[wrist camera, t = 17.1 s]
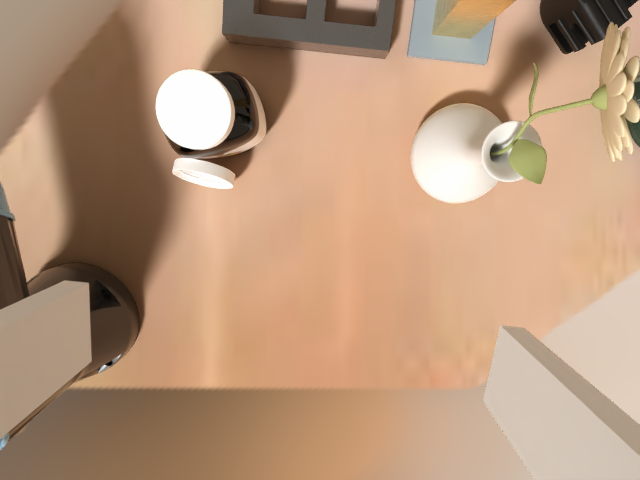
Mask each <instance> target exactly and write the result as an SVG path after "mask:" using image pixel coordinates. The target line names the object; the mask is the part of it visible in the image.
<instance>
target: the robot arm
mask: <svg viewBox="0 0 640 480" xmlns="http://www.w3.org/2000/svg"><path fill="white" fill-rule="evenodd" d="M13 221H15V216H14V215H13V214H12V213H10V209H9V206H8V202H7V199H6V195H5V192H4V189H3V186H2V184H1V182H0V450H1V449H2V448H3V447H4V446H5V445H6V444H7V442H8V441H9V440H10V439H11V438H13V437H14V436H15V435H16V434H17V433H18V432H19V431H20V430H21V429H23V428H24V427H25V426H26V425H27V424H28V423H29V422H30V421H31V420H33V419H34V418H35V417H36V416H37V415H38V414H39V413H40V412H41V411H43V410H44V409H45V408H46V407H47V406H48V405H49V404H50V403H51V402H52V401H54V400H55V399H56V398H57V397H58V396H59V395H60V394H61V393H63V392H64V391H65V390H66V389H67V388H68V387H69V386H70V385H72V384H73V383H75V382H77V381H80V380H82V379H85V378H87V377H90V376H92V375H95V374H97V373H100V372H102V371H105V370H107V369H108V368H110V367H112V366H113V365H114V364H116V363H117V362H118V361H119V360H120V359H121V358H122V357H123V356H124V355H125V354H126V353H127V352H128V351H129V350H130V349H131V347H132V346H133V344H134V342H135V340H136V338H137V334H138V330H139V316H138V310H137V307H136V304H135V302H134V299H133V298H132V296H131V294H130V293H129V291H128V290H127V288H126V287H125V286H124V285H123V284H122V283H121V282H120V281H119V280H118V279H117V278H116V277H114V276H113V275H112V274H110V273H108V272H107V271H105V270H103V269H101V268H98V267H96V266H93V265H89V264H83V263H67V264H62V265H59V266H56V267H53V268H51V269H48V270H46V271H43V272H41V273H39V274H37V275H36V276H34V277H33V278H32V279H30V280H29V281H28V282H26V277H25V272H24V268H23V263H22V259H21V254H20V250H19V245H18V240H17V236H16V231H15V227H14V222H13ZM483 402H484V403H485V405H486V407H487V408H488V409H489V411H490V413H491V414H492V415H493V417H494V419H495V420H496V422H497V423H498V425H499V426H500V428H501V429H502V431H503V432H504V434H505V435H506V437H507V439H508V440H509V442H510V443H511V445H512V446H513V448H514V449H515V451H516V452H517V454H518V455H519V457H520V458H521V460H522V461H523V463H524V464H525V466H526V468H527V469H528V471H529V472H530V474H531V475H532V477H533V478H534V480H640V425H639V424H638V423H637V422H636V421H635V420H633V419H632V418H631V417H630V416H629V415H627V414H626V413H625V412H624V411H623V410H621V409H620V408H619V407H618V406H617V405H615V404H614V403H613V402H612V401H611V400H610V399H608V398H607V397H606V396H605V395H604V394H602V393H601V392H600V391H599V390H597V389H596V388H595V387H594V386H593V385H592V384H590V383H589V382H588V381H587V380H586V379H584V378H583V377H582V376H581V375H580V374H578V373H577V372H576V371H575V370H574V369H573V368H571V367H570V366H569V365H568V364H567V363H565V362H564V361H563V360H562V359H561V358H559V357H558V356H557V355H556V354H555V353H553V352H552V351H551V350H550V349H549V348H547V347H546V346H545V345H544V344H543V343H542V342H540V341H539V340H538V339H537V338H536V337H534V336H533V335H532V334H531V333H530V332H528V331H527V330H526V329H525V328H520V327H511V326H501V325H500V329H499V333H498V338H497V342H496V347H495V351H494V355H493V360H492V364H491V369H490V373H489V377H488V382H487V386H486V391H485V395H484V400H483Z"/></svg>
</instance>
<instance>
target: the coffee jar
mask: <svg viewBox="0 0 640 480" xmlns="http://www.w3.org/2000/svg"><path fill="white" fill-rule="evenodd" d="M633 83H634V94H633V97H632V98H633V99H634V100H635V101H636V102H637V104H638V105H639V107H640V71H639V72H638V74H637V76H636V78H635V80H634V81H633ZM625 119H626V118H625ZM626 122H627V125H628V129H629V132H630V134H631V136H632V138H633V139H634V141H635V143H636V144H637V145H638V146H639V147H640V119H639V121H638V122H637V123H633V122H630V121H629V120H628V119H626Z"/></svg>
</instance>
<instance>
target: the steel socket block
mask: <svg viewBox="0 0 640 480" xmlns="http://www.w3.org/2000/svg"><path fill="white" fill-rule="evenodd" d="M326 4H327V0H307V12H306V19H298V18H289V17H280V16H271V15H261V14H259V6H260V0H223V24H222V34H223V35H224V36H225V37H226V39H227V40H228V41H229V42H232V43H242V44H251V45H260V46H270V47H279V48H288V49H298V50H307V51H316V52H325V53H335V54H344V55H353V56H363V57H372V58H381V59H385V58H386V56H387V54H388V52H389V49H390V42H391V34H392V26H393V19H394V11H395V4H396V0H377V6H376V14H375V22H374V27H372V26H363V25H354V24H345V23H335V22H326V21H325V15H326Z"/></svg>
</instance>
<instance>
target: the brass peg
mask: <svg viewBox="0 0 640 480" xmlns="http://www.w3.org/2000/svg"><path fill="white" fill-rule="evenodd" d="M514 1H516V0H437V2H436V9H435V15H434V22H433V28H432V35H438V36H448V37H457V38H466V39H471V38H472V37H473V36H475V35H476V34H477V33H478V32H479V31H480V30H482V29H483V28H484V27H485V26H486V25H487V24H489V23H490V22H491V21H492V20H493V19H494V18H496V17H497V16H498V15H499V14H500V13H502V12H503V11H504V10H505V9H506V8H507V7H509V6H510V5H511V4H512V3H513V2H514Z"/></svg>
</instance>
